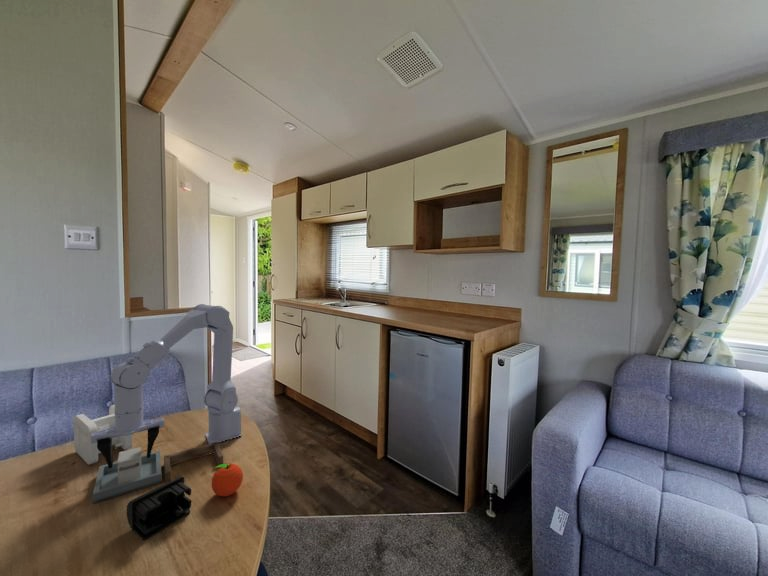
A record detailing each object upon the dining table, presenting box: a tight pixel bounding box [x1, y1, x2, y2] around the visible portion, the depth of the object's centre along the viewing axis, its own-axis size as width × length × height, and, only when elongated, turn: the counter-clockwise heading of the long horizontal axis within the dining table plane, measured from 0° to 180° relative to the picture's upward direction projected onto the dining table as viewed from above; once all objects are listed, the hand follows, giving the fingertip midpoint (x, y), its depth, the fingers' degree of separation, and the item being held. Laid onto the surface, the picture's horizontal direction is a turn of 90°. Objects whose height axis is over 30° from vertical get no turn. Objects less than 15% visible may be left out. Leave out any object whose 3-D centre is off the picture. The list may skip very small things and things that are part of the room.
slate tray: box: [92, 450, 162, 505], centre depth 82 cm, size 13×13×2 cm
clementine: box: [211, 463, 244, 497], centre depth 77 cm, size 8×7×7 cm
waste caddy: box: [117, 446, 142, 484], centre depth 81 cm, size 4×7×6 cm, turn 37°
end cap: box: [126, 476, 193, 541], centre depth 69 cm, size 10×7×7 cm
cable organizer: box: [72, 404, 133, 465], centre depth 93 cm, size 15×11×12 cm
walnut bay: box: [163, 442, 224, 484], centre depth 88 cm, size 13×9×2 cm
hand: (130, 461), depth 82 cm, fingers open, 7 cm apart
